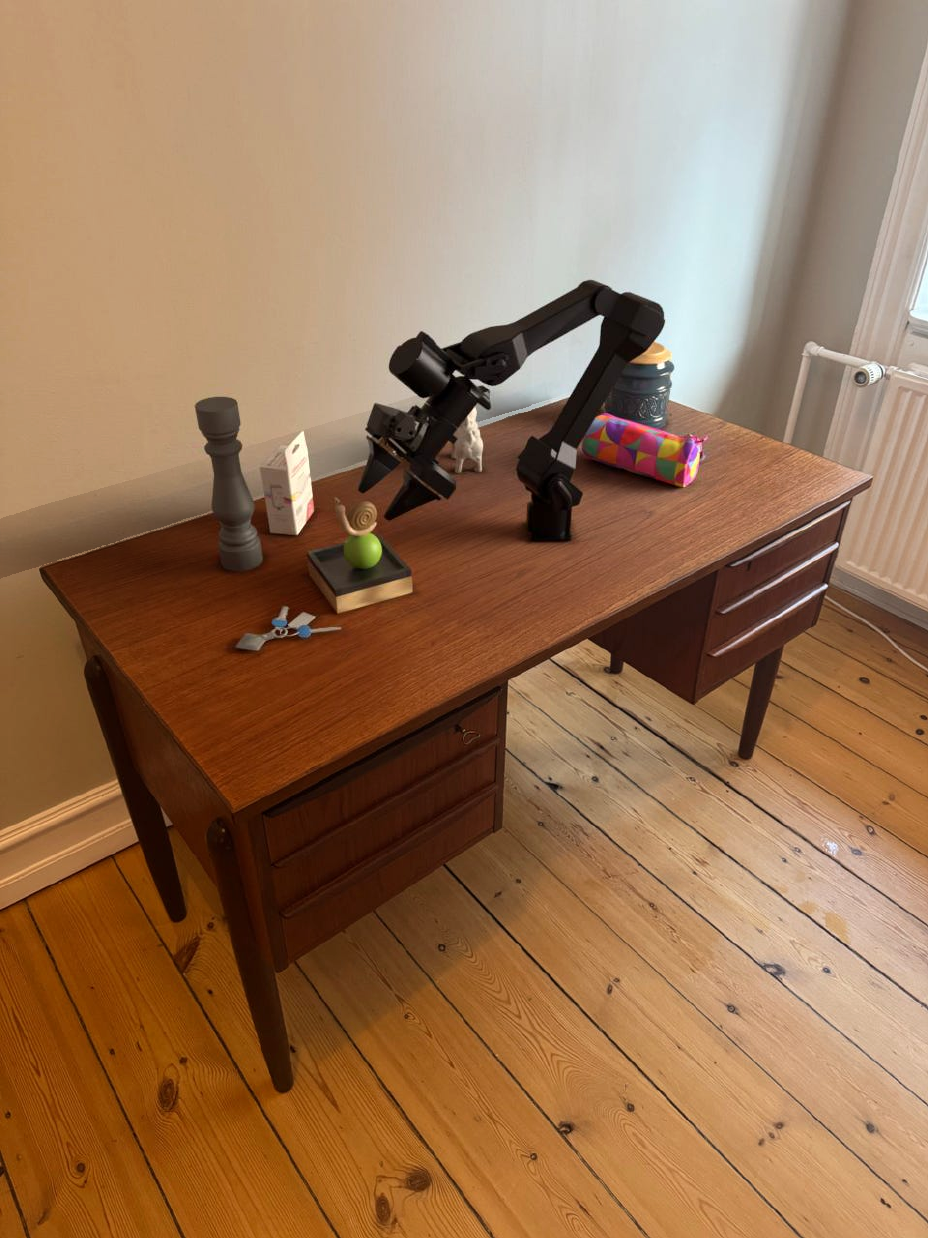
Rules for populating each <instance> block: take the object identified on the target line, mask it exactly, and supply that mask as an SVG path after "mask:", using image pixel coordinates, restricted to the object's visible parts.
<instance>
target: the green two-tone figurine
mask: <svg viewBox="0 0 928 1238" xmlns="http://www.w3.org/2000/svg"><path fill="white" fill-rule="evenodd" d="M333 501H334V504H335V508H334V511H335V513H336V516H337V520H338V523H339V525H340V527H341V529H342V530H343V532H344V533H345V534H346V535H348V537H347V539H346V540H345V544H344V556H345V558H346V560H347V561H348V563H349V564H350V565H352V566H353V567H355V568H358V569H368V568H370V567H372V566H374V565H375V564H376V563H377V562H378V561H379V559H380V557H381V553H382V548H381V544H380V541H379V540H378V538H377V537H376V536H375V535H376V534H373V533H372V532H373V531H374V529H375V527H376V526H377V524H378V523H377V522H376V519H377V518H378V517H377V516H378V512H377V508H376V506H375V505H374V504H373V503H372V502H371V501H368V500H360V501H357V502H356V503H354V504H353V505H351V506H350V508H349V510H348V512H347V514H346V507H345V505H343V504H339V503H340V502H341V501H340V499H338V498H337V497H336V496H335V497H333Z"/></svg>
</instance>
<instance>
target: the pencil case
mask: <svg viewBox="0 0 928 1238" xmlns="http://www.w3.org/2000/svg"><path fill="white" fill-rule="evenodd" d="M708 438H709V436H708V435H706V436H704V437H703V438H702V439H699V438H698V436H696V435H692V434H691V433H689V432H688V433H685V434H684V435H682V436H678V435H675V434H672V433H669V432H667V431H664V430H661V429H655V428H652V427H648V426H645V425H641V424H638V423H635V422H632V421H628V420H625V419H620V418H617V417H614V416H612V415H610V414H607V413H603V412H602V413H601V414H599V415H597V416H596V418H595V419H594V421H593V423H592V424H591V426H590V428H589V429H588V431H587V433H586V434H585V436H584V438H583V439H582V441H581V452H582V454H583V456H584V457H585V459H587V460H591V461H596V462H598V463H602V464H604V465H607V466H609V467H613V468H616V469H617V468H618V469H624V470H625V471H627V472H630V473H634V474H637V475H641V476H645V477H648V478H651V479H655V480H657V481H661V482H663V483H667V484H670V485H674V486H677V487H680V488H685V487H687V486H688V485H689V484H690V483H692V482H693V481H694V479H696V476H697V473H698V470H699V465H700V462H702V461H704V460H705V458H706V456H707V455H708V452H709V450H705V451H702V443H704V442H706V440H707V439H708Z"/></svg>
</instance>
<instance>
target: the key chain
mask: <svg viewBox="0 0 928 1238" xmlns="http://www.w3.org/2000/svg"><path fill="white" fill-rule="evenodd" d="M288 610H290V608H289V606H286V605H284V606H281V610H280V612H279V614H278V617H275V618H272V619H271V625H272V626H273V627H274V628H273V629H272V630H271V631H270V632H267V633H263V634H255V633H249V632H248V633H247V632H246V633H244V634H243V636H242V637H241V638H240V639H239V641H238V642H237V644H236V645H235V648H236V649H242V650H248V651H253V652H259V651H260V650H261V648H262V646H263V645H264V643H265V642H267V641H269V640H273V639H283V638H285V637H292V636H296V635H297V636H298V637H299V638H301V639H307V638H309V637H310V636H311V634H316V633H321V632H322V633H325V632H332V631H340V630H342V626H330V627H329V626H328V627H319V628H311V627H310V625H309V624H310V623H311V622H312V621H313V620H315V618H316V616H314V615H312V614H309V613H307V612H304V611H302V612H301V613H300V614H299V615H298V616H297V617H295V618H294V619H293V620H291V621H290V622H289V623H288V620H287V616H288V613H289V611H288ZM286 625H287V626H288V627H286ZM288 629H294V630H296V632H295V633H292V634H289V635H288V632H289V631H288ZM276 631H279V634H280V635H277V634H276ZM283 631H284V633H283V634H282V632H283Z"/></svg>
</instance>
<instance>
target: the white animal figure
mask: <svg viewBox="0 0 928 1238" xmlns="http://www.w3.org/2000/svg"><path fill="white" fill-rule="evenodd" d="M477 413H478V412H477V408H476V406H475V407H474V409H473V410H472V411H471V412H470V414H469V415H468V416H467V418H466V419H465V420H464V421H463V423H462V424H461V425H460V427H459V428H457V427H456V428H457V431H456V432H455V433H454V434H453V435H454V436H455V437H457V438H458V440H457V441H456V442H455V443H454V444H452V443H451V442H450V448H451V456H450V457H451V458H452V459H455V470H454V472H455V473H456V474H461V473H462V471H463V463H464V461H465V460H469V461H472V462H473V463H474V464H475V468H474V470H473V471H474V472H477V473H481V472H483V467H482V465H483V464H482V460H483V458H482V457H483V452H484V451H483V450H484V443H483V442H484V441H483V439H482V437H481V432H480V428H479V427H478V426H479V425H478V423H477V421H476V419H477Z"/></svg>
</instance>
